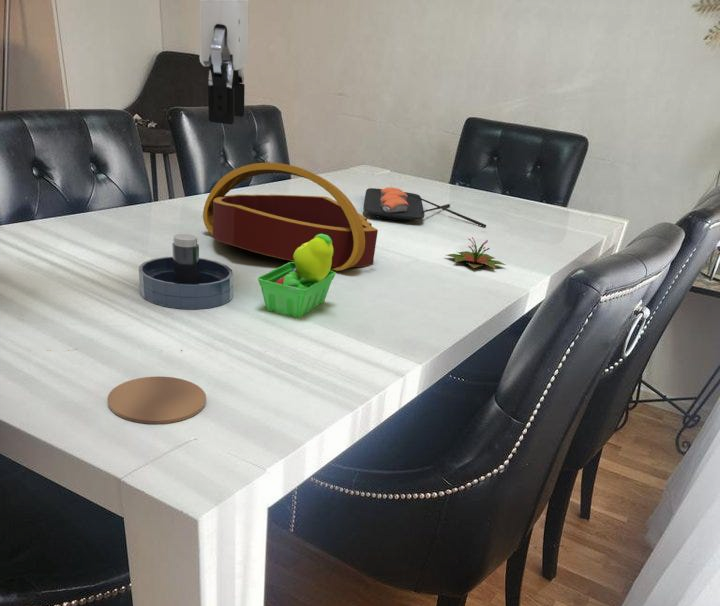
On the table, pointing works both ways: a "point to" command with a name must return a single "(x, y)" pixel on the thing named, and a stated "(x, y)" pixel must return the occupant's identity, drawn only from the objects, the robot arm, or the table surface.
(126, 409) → the cork coaster
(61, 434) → the table surface
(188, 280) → the salt shaker
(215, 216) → the decorative basket
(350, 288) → the table surface
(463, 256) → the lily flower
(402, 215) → the sushi plate
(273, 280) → the fruit basket
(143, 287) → the bowl
